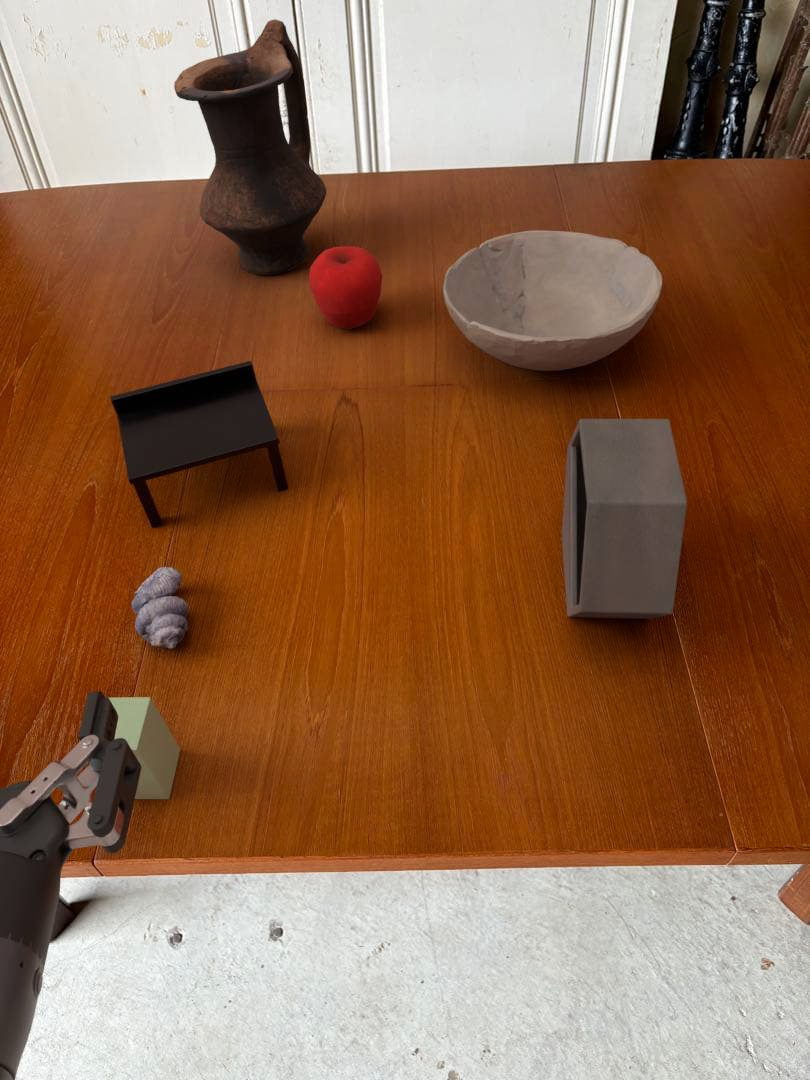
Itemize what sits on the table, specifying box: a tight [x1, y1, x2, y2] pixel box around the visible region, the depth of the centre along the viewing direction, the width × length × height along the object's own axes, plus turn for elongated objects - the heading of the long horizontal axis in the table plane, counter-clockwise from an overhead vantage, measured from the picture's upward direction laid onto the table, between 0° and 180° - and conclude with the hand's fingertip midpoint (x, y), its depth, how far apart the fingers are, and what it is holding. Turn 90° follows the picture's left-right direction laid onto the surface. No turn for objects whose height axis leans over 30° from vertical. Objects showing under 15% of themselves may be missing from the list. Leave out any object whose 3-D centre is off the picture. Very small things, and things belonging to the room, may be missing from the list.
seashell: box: [131, 566, 190, 650], centre depth 79 cm, size 5×5×10 cm
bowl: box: [442, 229, 663, 372], centre depth 104 cm, size 26×26×10 cm
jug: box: [173, 18, 327, 276], centre depth 115 cm, size 21×18×30 cm
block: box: [108, 696, 181, 800], centre depth 67 cm, size 5×5×9 cm
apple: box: [308, 245, 383, 330], centre depth 110 cm, size 10×10×11 cm
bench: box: [109, 360, 289, 529], centre depth 91 cm, size 16×12×10 cm
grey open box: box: [561, 418, 688, 620], centre depth 74 cm, size 17×8×21 cm
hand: (34, 712), depth 52 cm, fingers open, 8 cm apart
